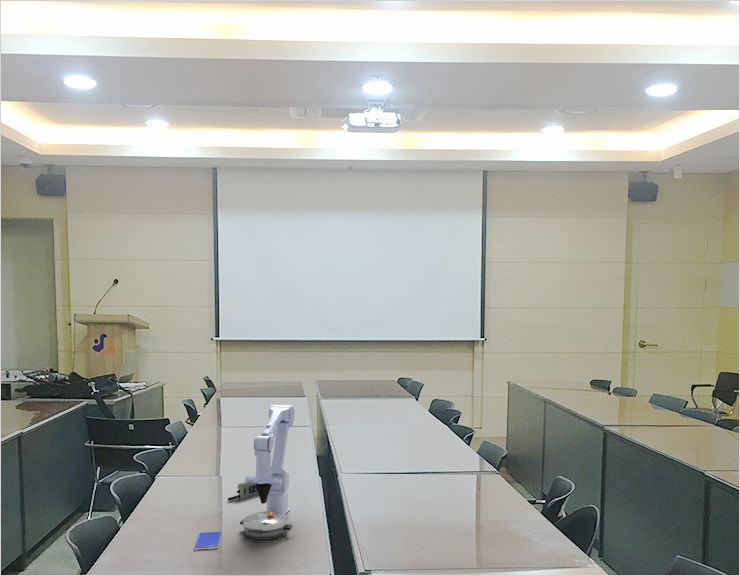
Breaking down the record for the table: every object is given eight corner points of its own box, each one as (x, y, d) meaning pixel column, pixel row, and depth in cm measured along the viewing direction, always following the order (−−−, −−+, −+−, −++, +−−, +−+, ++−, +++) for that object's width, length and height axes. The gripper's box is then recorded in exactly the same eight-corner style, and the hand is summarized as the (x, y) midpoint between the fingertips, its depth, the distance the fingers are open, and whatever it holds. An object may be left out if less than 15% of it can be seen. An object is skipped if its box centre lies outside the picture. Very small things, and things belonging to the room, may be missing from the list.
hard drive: (217, 546, 216) (221, 531, 228) (194, 547, 215) (199, 532, 227) (217, 550, 216) (221, 535, 228) (194, 551, 215) (199, 536, 227)
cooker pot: (253, 519, 241) (252, 509, 241) (300, 525, 235) (300, 515, 235) (231, 538, 224) (231, 527, 224) (282, 545, 218) (282, 534, 218)
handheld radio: (278, 489, 276) (230, 503, 259) (274, 487, 278) (226, 501, 261) (278, 474, 276) (230, 487, 259) (274, 472, 278) (225, 486, 261)
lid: (255, 511, 239) (255, 506, 239) (295, 515, 235) (295, 510, 235) (233, 530, 222) (233, 524, 222) (276, 535, 217) (275, 529, 217)
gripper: (241, 468, 229) (241, 504, 229) (276, 472, 225) (276, 508, 226) (250, 463, 236) (250, 498, 236) (284, 466, 232) (284, 501, 232)
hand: (263, 502), depth 231 cm, fingers closed
